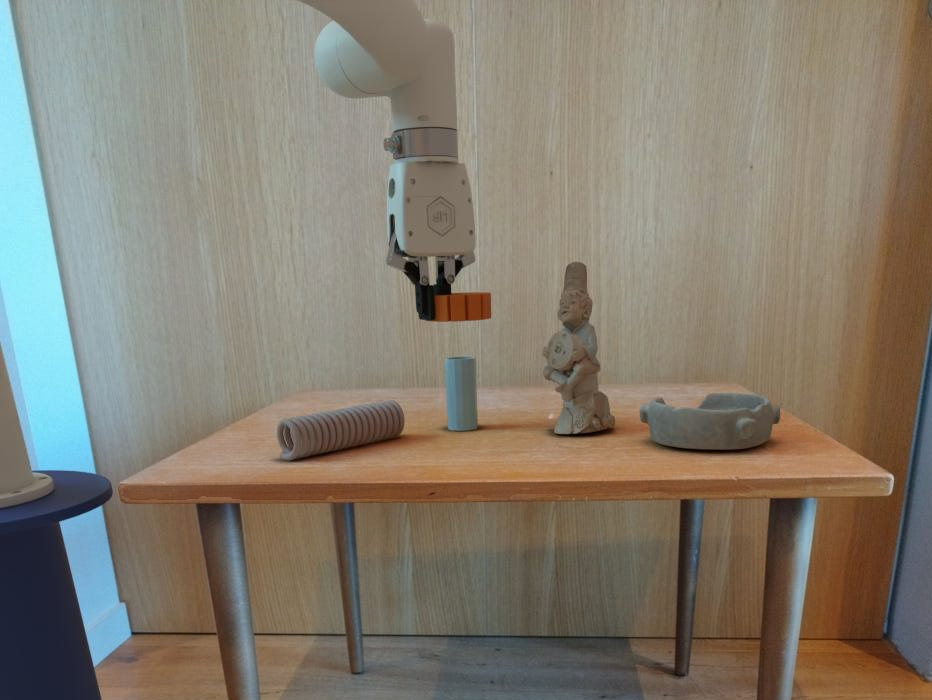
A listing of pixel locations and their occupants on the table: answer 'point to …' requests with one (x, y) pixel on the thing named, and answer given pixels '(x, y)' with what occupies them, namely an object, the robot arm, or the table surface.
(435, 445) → the table surface
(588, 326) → the figurine
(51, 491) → the robot arm
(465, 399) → the tumbler
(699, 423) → the dish
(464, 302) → the ring
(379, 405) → the coil
